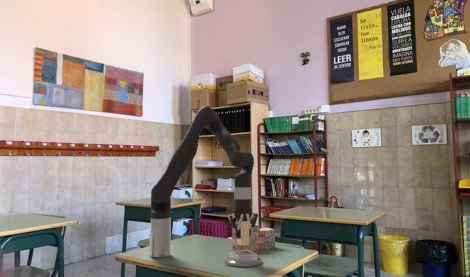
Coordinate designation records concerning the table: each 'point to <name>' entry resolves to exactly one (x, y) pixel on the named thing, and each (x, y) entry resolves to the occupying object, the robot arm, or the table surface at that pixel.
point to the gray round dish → (243, 259)
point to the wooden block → (244, 233)
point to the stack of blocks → (256, 239)
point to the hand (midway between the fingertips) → (243, 237)
